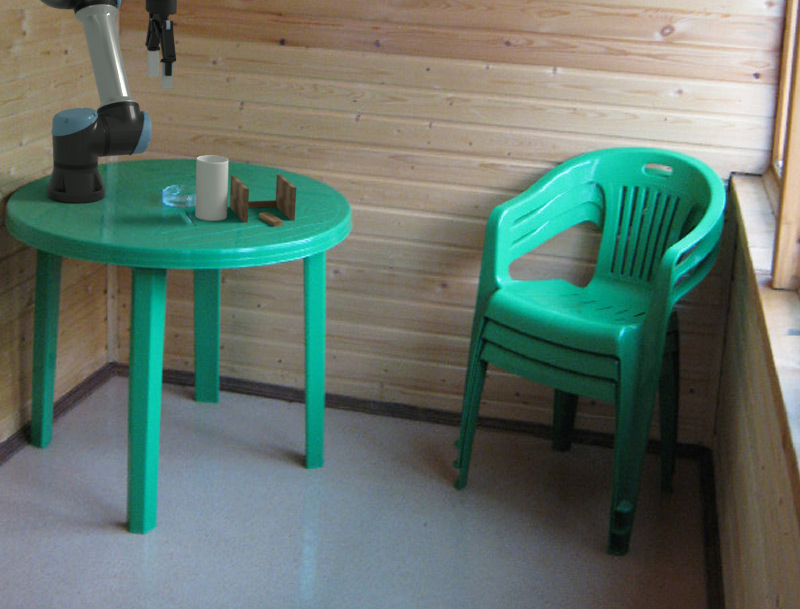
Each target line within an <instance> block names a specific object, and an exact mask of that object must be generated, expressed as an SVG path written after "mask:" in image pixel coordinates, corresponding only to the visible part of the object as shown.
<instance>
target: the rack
mask: <svg viewBox="0 0 800 609" xmlns="http://www.w3.org/2000/svg"><path fill="white" fill-rule="evenodd" d="M275 184H276V185H275V199H273V200H271V199H270V200H269V199H268V200H249V198H250V197H249V193H250V189H249V188H248V186H246V184H245V183H244V182H242V181H241V180H240V179H239V177H237V175H235V174H230V189H229V190H230V192H229V194H230V195H229V196H230V197H229V208H230V209H231V211H233V212H234V214H235V215H236V216H238V218H239V219H240V220H241V221H242V222H243V223H244V224H245V223H248V222H249V208H255V209H256V208H274V207H275V208H278V210H279V211H280V212H281V213H282V214H283V215H285V216H286V217H287V219H289V220H290V221H296V206H297V203H296V202H297V201H296V200H297V198H296V197H297V187H296V186H295V185H294V184H293V183H292V182H290V180H288V179H287V178H286V177H285V176H283V175H282V174H281V173H277V174H276V183H275Z"/></svg>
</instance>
